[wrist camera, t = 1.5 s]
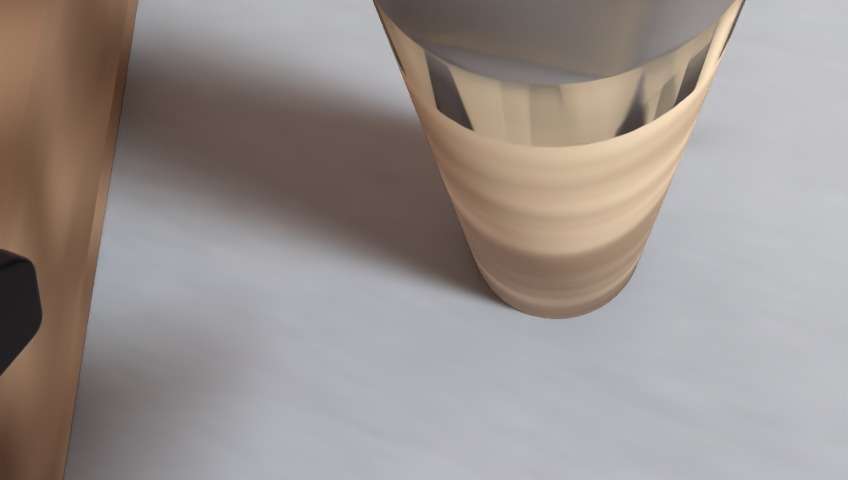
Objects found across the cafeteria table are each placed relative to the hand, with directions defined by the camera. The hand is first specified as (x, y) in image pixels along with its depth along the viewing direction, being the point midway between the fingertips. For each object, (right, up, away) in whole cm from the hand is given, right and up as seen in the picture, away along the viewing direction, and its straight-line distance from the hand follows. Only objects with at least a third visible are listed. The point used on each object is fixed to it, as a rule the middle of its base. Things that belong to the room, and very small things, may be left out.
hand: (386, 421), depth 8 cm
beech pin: (+4, +2, +12) cm, 13 cm away
